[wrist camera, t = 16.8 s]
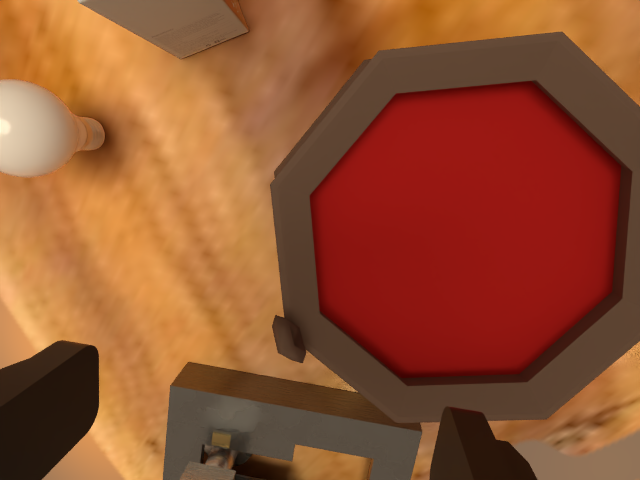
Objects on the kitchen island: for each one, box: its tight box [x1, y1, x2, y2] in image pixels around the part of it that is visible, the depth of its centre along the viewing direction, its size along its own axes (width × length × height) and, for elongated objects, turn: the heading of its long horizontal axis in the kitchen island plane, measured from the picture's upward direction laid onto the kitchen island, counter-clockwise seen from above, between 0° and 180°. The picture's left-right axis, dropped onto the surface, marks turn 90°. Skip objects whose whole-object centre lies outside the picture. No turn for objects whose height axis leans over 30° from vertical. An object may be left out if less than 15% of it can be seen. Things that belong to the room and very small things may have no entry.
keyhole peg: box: [180, 445, 252, 480], centre depth 35 cm, size 5×5×12 cm
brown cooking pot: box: [270, 32, 640, 423], centre depth 26 cm, size 24×24×16 cm
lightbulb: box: [0, 79, 105, 177], centre depth 30 cm, size 6×6×11 cm
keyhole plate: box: [163, 362, 422, 480], centre depth 38 cm, size 22×14×4 cm, turn 81°
